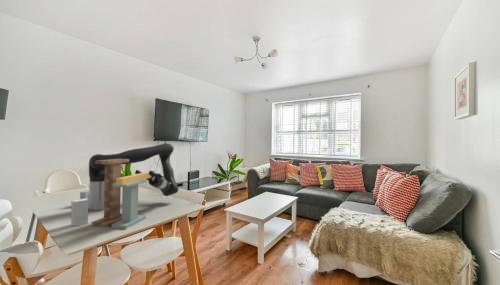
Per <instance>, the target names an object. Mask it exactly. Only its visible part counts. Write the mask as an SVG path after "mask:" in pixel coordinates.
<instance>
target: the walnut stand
mask: <svg viewBox="0 0 500 285" xmlns="http://www.w3.org/2000/svg"><path fill="white" fill-rule="evenodd" d="M123 162H129V159H109V160H98V161H95V164H105V187H104V209H103V217H101V218H99V219H96V220H94V221H92V222H90V223H91V224H90V225H91V226H92V227H93V226H94V227H102V228H110V227H112V224H114V223H116V222H118V221H120V220H122V212H121V199H122V197H121V196H122V195H121V194H122V192H121V191H122V189H121V188H122V187H116V186H113V184H116V178H120V177H122V165H121V163H123Z"/></svg>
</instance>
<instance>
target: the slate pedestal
mask: <svg viewBox="0 0 500 285" xmlns="http://www.w3.org/2000/svg"><path fill="white" fill-rule="evenodd" d="M146 182H148V181H147V180H146V179H144V180H140V181H136V182H132V183H128V184H124V185H116V184H113V186H116V187H121V188H122V189H121V191H122V192H121V194H122V195H121V196H122V197H121V213H122V220H120V221H118V222H116V223H114V224H112V226H111V228H113V229H120V230H121V229H124V230H127V229H129V228H131V227H133V226H134V225H136V224H138V223H140V222H142V221H144V220H145V219H147V215H142V214H138V213H139V211H138V210H139V185H140V184H144V183H146Z"/></svg>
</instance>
